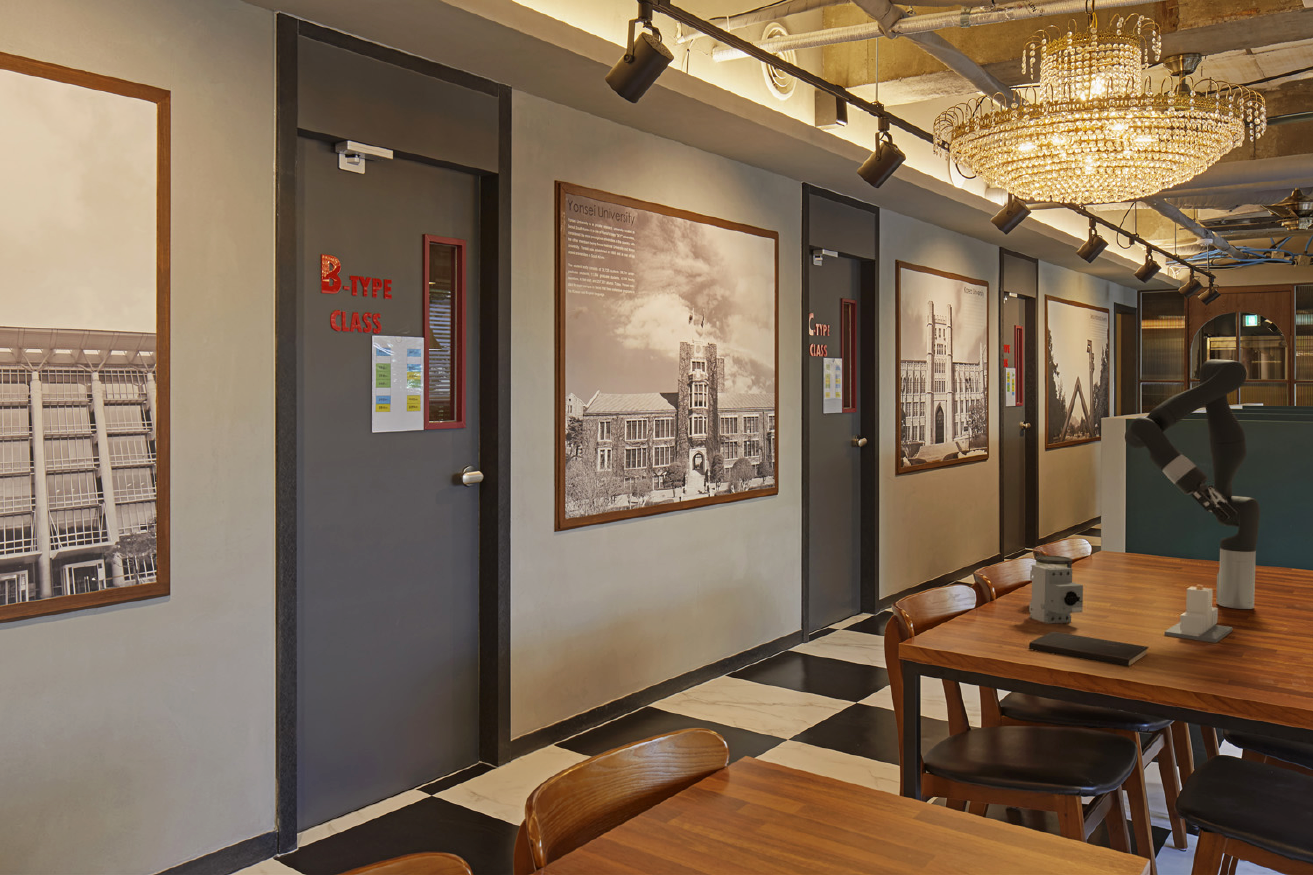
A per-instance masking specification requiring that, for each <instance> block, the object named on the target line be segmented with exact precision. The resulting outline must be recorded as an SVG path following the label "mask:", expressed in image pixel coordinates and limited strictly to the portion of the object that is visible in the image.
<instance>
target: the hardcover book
mask: <svg viewBox="0 0 1313 875" xmlns="http://www.w3.org/2000/svg"><path fill="white" fill-rule="evenodd" d="M1029 649H1033V650H1032V651H1035V650H1037V651H1036V652H1040V651H1041V653H1046V652H1047V654H1052V653H1054V654H1053V655H1057V654H1058V656H1064V657H1070V658H1074V659H1075V658H1076V659H1081V660H1086V661H1087V660H1088V661H1092V662H1097V661H1098V663H1105V664H1108V665H1109V664H1110V665H1115V666H1121V667H1126V668H1129V667H1130V665H1133V664H1134V663H1135V662H1137V661H1138V660H1140V659H1141V658H1143V657H1144V656H1146V655H1147V650H1148V649H1149V646H1145V645H1140V644H1133V643H1128V642H1127V643H1126V642H1122V641H1121V642H1119V641H1115V640H1108V639H1102V638H1096V637H1091V636H1090V637H1089V636H1083V635H1079V634H1078V635H1077V634H1072V633H1065V632H1058V631H1050V632H1048V633H1045V634H1044V635H1042V636H1040V637H1038V638H1036V639H1034V640H1031V641H1030V642H1029V644H1028V650H1029ZM1145 654H1146V655H1145Z"/></svg>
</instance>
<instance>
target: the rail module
mask: <svg viewBox="0 0 1313 875" xmlns="http://www.w3.org/2000/svg"><path fill="white" fill-rule="evenodd" d="M1213 590H1214V589H1213V588H1208V587H1204V584H1196V586H1190V587H1188V588H1186V601H1185V602H1186V603H1185V604H1186V606H1185V608H1186V609H1185V610H1186V611H1185V612H1189V613H1196V614H1203V615H1207V622H1206V629H1208V628H1210V627H1211V626H1212V607H1213Z"/></svg>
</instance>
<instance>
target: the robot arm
mask: <svg viewBox="0 0 1313 875" xmlns="http://www.w3.org/2000/svg"><path fill="white" fill-rule="evenodd" d="M1247 373H1248V372H1247V369H1246V366H1245V365H1244V364H1243V363H1242V362H1240V361H1236V360H1231V359H1218V358H1217V359H1208V360H1206V361H1204V362H1203V363H1202V364H1201V367H1200V370H1199V373H1198V376H1199V377H1198V379H1199V380H1198V381H1199V384H1198V385H1197V386H1194V387H1193V388H1189V389H1186V390H1185V391H1183V392H1179V393H1177V394H1174V395H1173V396H1171V397H1169V398H1167V399H1166V400H1164V401H1163V402H1161V403H1160V404H1158V405H1157V406H1156V407H1154V408H1153V409H1152V410H1151V411H1150V412H1149V413H1148V415H1147V416H1140V417H1136V418H1135V419H1133V421H1132V422H1131V423H1130V424H1129V426H1128V427H1127V429H1126V431H1125V434H1124V441H1125V444H1127V446H1129V447H1131V448H1133V449H1143V448H1147V450H1148V452H1149V453H1148V454H1149V455H1148V456H1149V460H1150V461H1151V462H1152V463H1153V464H1154V465H1155V466H1156V467H1157V468H1158V469H1159V470H1161V472H1162V473H1163V474H1164V475H1165V476H1166V477H1167V479H1169V480H1170V481H1171V482H1172V483H1173V484H1174V485H1175V486H1176V487H1177V488H1178V489H1179V490H1180V491H1181V492H1182V493H1183V494H1184V495H1187V496H1188V495H1191V498H1193V499H1194V500H1195V501H1196V502H1197V503H1198V504H1199V506H1202V508H1203V509H1204V510H1205V511H1206V512H1210V513H1212V514H1213V515H1214V516H1215V519H1216V521H1217V523H1218V524H1220V525H1221V526H1225V527H1235V528H1238V531H1237V533H1236V534H1235V535H1232V536H1228V537H1224V538H1222V539H1220V542H1219V569H1218V570H1219V572H1217V573H1216V601H1215V602H1216V604H1218V605H1219V606H1221V607H1225V608H1229V609H1230V608H1231V609H1239V610H1251V609H1255V592H1256V591H1255V588H1256V585H1255V583H1256V580H1255V579H1256V555H1257V553H1256V552H1257V544H1258V539H1259V538H1258V537H1259V528H1260V518H1261V516H1260V515H1261V510H1260V508H1261V507H1260V505H1259V502H1258V500H1257V499H1256V498H1253V497H1248V496H1239V495H1233V481H1234V477H1235V475H1236V474H1237V472H1238V471H1239V469H1240V468H1241V466H1242V465H1243V463H1244V460H1245V459H1246V456H1247V444H1246V442H1247V441H1246V436H1245V431H1244V429H1243V426H1242V424H1241V422H1240V421H1239V420H1238V418H1237V417H1236V415H1235V413H1234V411H1232V409H1231V406H1230V404H1229V399H1228V394H1230V393H1233V392H1235V391H1236V390H1239V389H1241V387H1242V386H1243V385H1244V384H1245V382H1246V381H1247V377H1248V376H1247V375H1248V374H1247ZM1202 407H1205V414H1206V421H1207V427H1208V437H1209V438H1208V439H1209V440H1208V441H1209V447H1210V449H1209V450H1210V456H1211V465H1212V472H1213V485H1212V484H1209V485H1207V484H1205V483H1206V482H1207V481H1208V479H1209V476H1207V474H1205V473H1204V472H1203V470H1201V469H1200V468H1199V467H1198V466H1197V465H1196V464H1195V463H1194V462H1193V461H1192V460H1190V458H1188V457H1186V456H1185V455H1183V453H1181V451H1180V450H1178V449H1177V448H1176V447H1175V446H1174V445H1173V444H1172V443H1171V441H1170V440H1169V439H1168V437H1167V436H1166V434H1165V432H1166V431H1167V430H1168V429H1170V428H1172V427H1173V426H1175V425H1176V424H1178V423H1179V422H1181V421H1182V420H1184V419H1185V418H1186V417H1187V416H1189V415H1190V414H1192V413H1195V411H1197V410H1199V409H1200V408H1202Z"/></svg>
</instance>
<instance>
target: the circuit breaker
mask: <svg viewBox="0 0 1313 875" xmlns="http://www.w3.org/2000/svg"><path fill="white" fill-rule="evenodd" d="M1030 567H1031V570H1030V572H1029V575H1030V576H1029V580H1030V581H1031V601H1029V606H1028V607H1029V610H1028V611H1029V613H1030V615H1029V616H1028V618H1031V619H1033V620H1036V621H1039V622H1042V623H1044V624H1049V625H1050V624H1061V623H1064V624H1065V623H1072V615H1071V614H1073V613H1078V614H1079V613H1083V610H1084V609H1083V608H1084V607H1083V605H1084V604H1083V603H1084V600H1083V599H1084V585H1083V584H1080V583H1076V582H1073V568H1072V569H1071V568H1067V567H1063V566H1059V565H1054V564H1045V565H1036V564H1031V565H1030Z"/></svg>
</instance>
